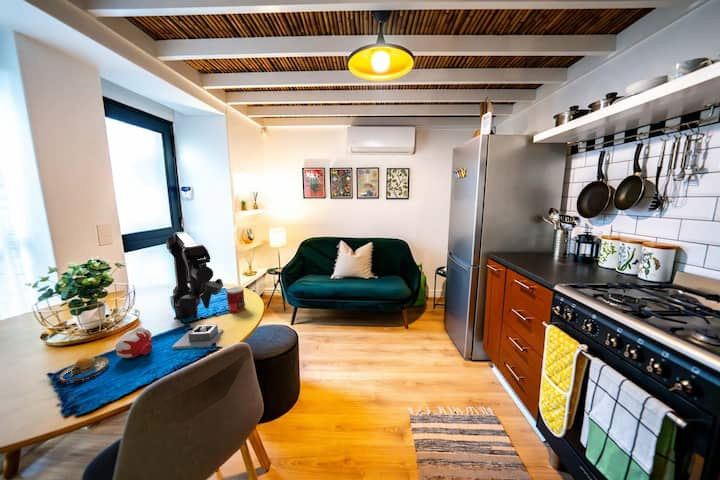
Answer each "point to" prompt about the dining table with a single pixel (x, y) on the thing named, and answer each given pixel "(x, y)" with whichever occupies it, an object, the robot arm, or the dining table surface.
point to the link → (203, 333)
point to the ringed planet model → (85, 367)
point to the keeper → (186, 344)
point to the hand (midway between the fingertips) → (201, 313)
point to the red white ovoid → (134, 343)
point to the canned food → (235, 299)
